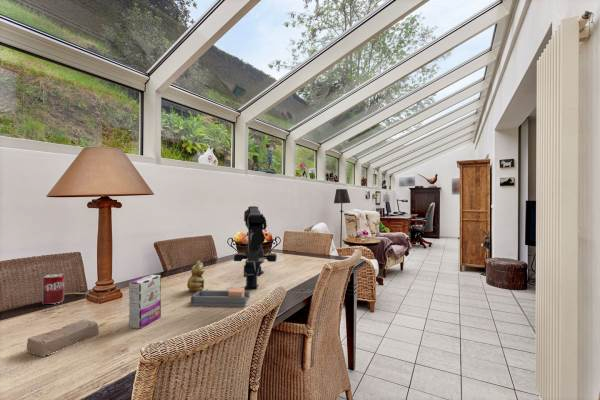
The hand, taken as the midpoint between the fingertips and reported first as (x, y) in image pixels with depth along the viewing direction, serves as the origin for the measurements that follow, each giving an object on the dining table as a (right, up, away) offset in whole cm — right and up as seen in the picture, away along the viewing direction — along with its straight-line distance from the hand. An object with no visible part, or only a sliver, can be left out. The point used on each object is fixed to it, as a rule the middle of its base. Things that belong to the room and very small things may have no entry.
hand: (255, 276), depth 131 cm
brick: (-55, -11, -39) cm, 68 cm away
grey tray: (-16, -12, 0) cm, 19 cm away
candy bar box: (-38, -11, -23) cm, 46 cm away
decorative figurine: (-33, -12, +15) cm, 38 cm away
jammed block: (-9, -10, 0) cm, 13 cm away
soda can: (-89, -11, -4) cm, 89 cm away
